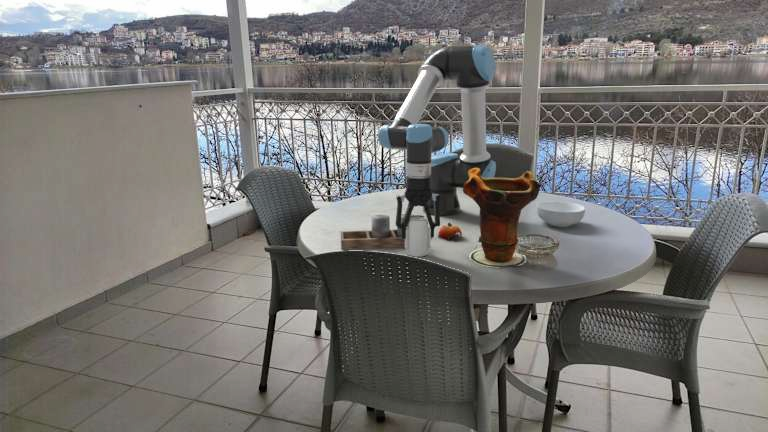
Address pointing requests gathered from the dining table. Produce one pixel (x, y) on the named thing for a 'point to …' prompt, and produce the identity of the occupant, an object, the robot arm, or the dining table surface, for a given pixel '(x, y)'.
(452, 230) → the tomato
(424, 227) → the can
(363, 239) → the socket rail
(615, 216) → the dining table surface
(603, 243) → the dining table surface
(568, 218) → the cereal bowl
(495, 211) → the decorative vase
